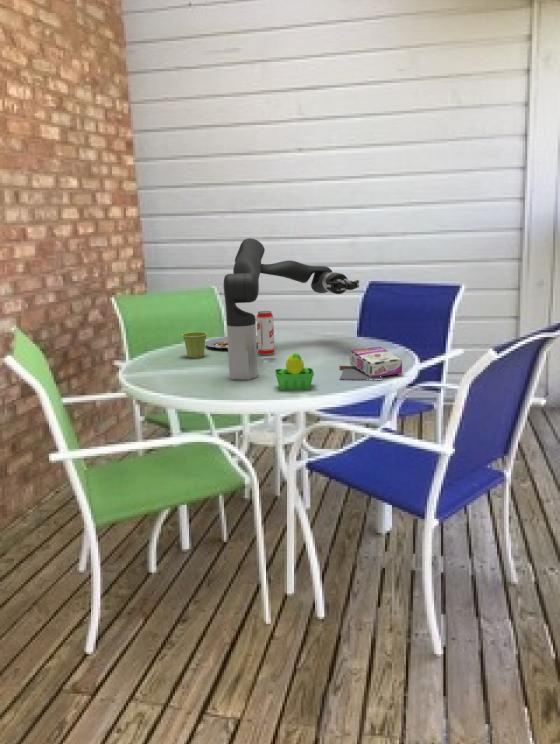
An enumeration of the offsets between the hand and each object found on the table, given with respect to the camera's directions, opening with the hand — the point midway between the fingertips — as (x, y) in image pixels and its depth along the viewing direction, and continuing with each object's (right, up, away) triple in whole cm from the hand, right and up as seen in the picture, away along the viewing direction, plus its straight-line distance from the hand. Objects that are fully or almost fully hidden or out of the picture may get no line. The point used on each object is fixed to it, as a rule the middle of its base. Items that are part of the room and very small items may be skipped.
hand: (351, 286), depth 224 cm
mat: (+2, -30, -16) cm, 34 cm away
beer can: (-30, -23, +21) cm, 43 cm away
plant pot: (-56, -24, +21) cm, 64 cm away
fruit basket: (-20, -34, -29) cm, 49 cm away
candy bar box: (+4, -24, -6) cm, 25 cm away
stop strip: (+3, -29, -9) cm, 30 cm away
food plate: (-42, -19, +40) cm, 61 cm away
